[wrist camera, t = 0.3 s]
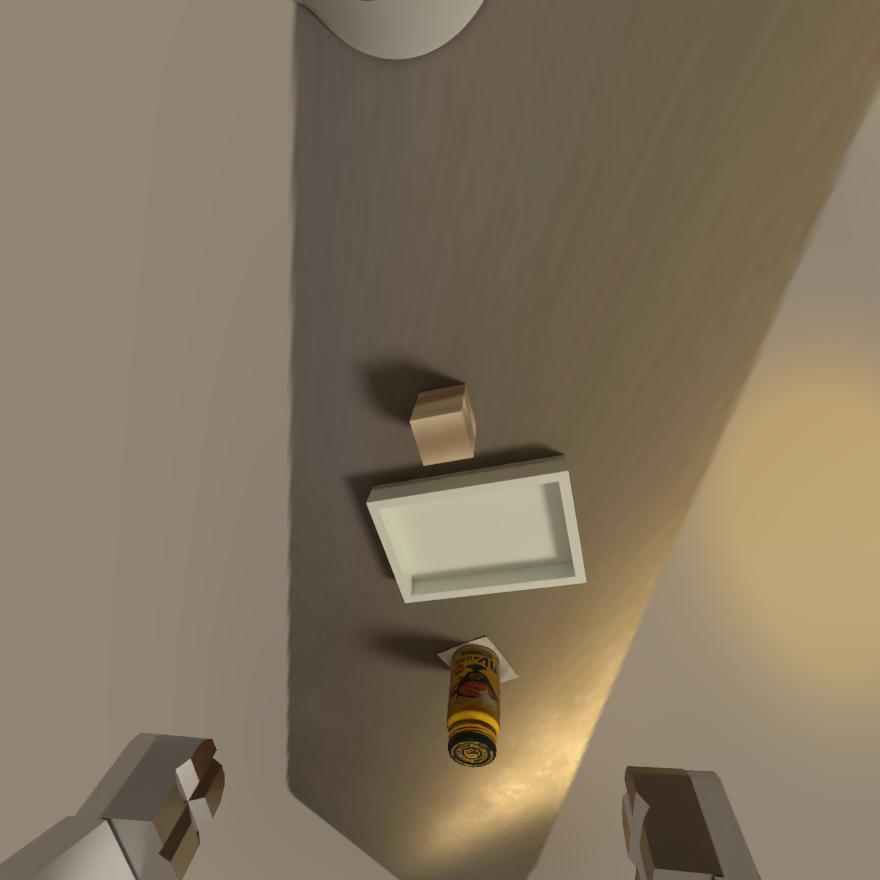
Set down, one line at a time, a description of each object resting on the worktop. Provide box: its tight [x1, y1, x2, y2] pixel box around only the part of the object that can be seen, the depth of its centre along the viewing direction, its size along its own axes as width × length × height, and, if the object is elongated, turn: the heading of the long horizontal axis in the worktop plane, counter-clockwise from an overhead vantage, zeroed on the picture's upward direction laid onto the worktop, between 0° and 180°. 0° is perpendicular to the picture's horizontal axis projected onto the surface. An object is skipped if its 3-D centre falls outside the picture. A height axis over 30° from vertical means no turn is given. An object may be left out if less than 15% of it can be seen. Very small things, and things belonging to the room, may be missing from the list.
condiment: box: [437, 637, 519, 767], centre depth 60 cm, size 7×8×12 cm
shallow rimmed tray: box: [366, 455, 587, 603], centre depth 53 cm, size 14×20×3 cm
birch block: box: [410, 384, 476, 466], centre depth 45 cm, size 4×4×6 cm
